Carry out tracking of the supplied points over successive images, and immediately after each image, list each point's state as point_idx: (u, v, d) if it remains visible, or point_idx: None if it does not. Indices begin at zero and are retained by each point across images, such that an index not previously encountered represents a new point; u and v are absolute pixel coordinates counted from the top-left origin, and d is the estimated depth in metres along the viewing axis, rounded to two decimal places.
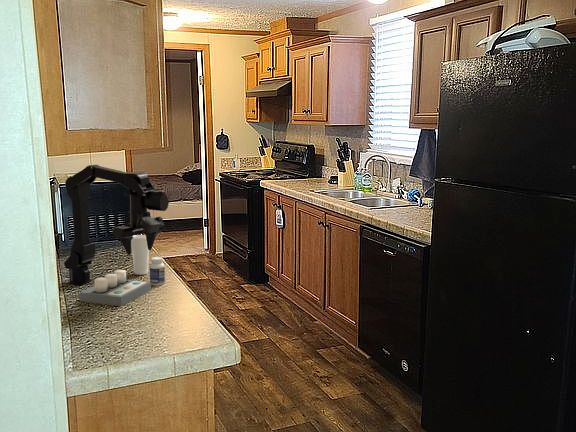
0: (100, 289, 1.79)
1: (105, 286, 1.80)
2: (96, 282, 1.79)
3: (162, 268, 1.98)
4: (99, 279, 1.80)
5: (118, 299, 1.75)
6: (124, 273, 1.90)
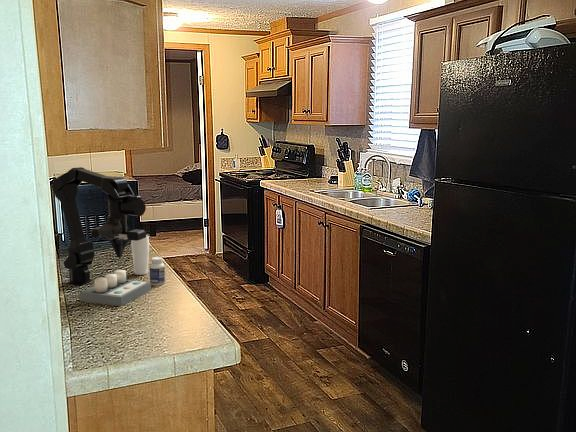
0: (100, 289, 1.79)
1: (105, 286, 1.80)
2: (96, 282, 1.79)
3: (162, 268, 1.98)
4: (99, 279, 1.80)
5: (118, 299, 1.75)
6: (124, 273, 1.90)
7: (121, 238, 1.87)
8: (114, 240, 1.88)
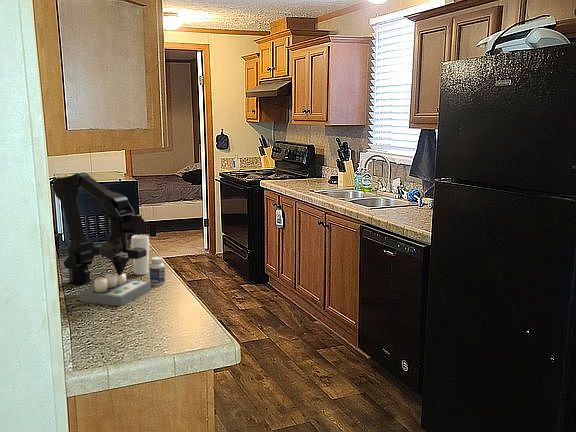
0: (100, 289, 1.79)
1: (105, 286, 1.80)
2: (96, 282, 1.79)
3: (162, 268, 1.98)
4: (99, 279, 1.80)
5: (118, 299, 1.75)
6: (124, 277, 1.90)
7: (122, 256, 1.88)
8: (115, 258, 1.89)
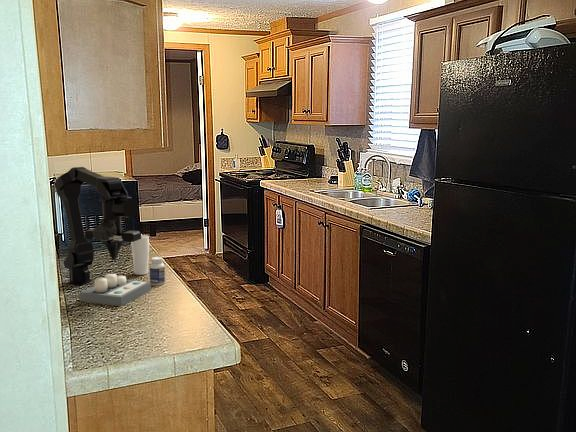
0: (100, 289, 1.79)
1: (105, 286, 1.80)
2: (96, 282, 1.79)
3: (162, 268, 1.98)
4: (99, 279, 1.80)
5: (118, 299, 1.75)
6: (124, 279, 1.90)
7: (116, 240, 1.83)
8: (108, 242, 1.84)
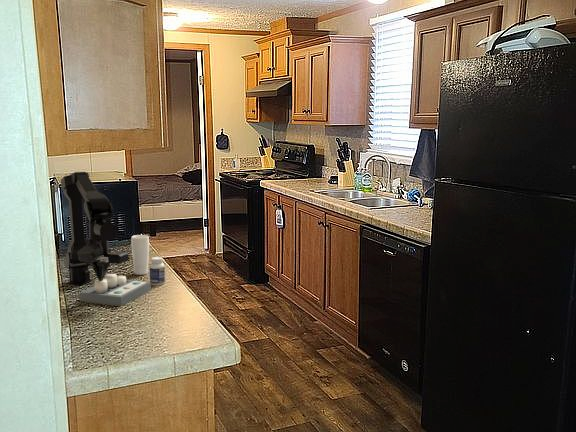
0: (100, 290, 1.79)
1: (105, 287, 1.80)
2: (96, 283, 1.79)
3: (162, 268, 1.98)
4: None
5: (118, 299, 1.75)
6: (124, 279, 1.90)
7: (102, 261, 1.77)
8: (95, 263, 1.78)
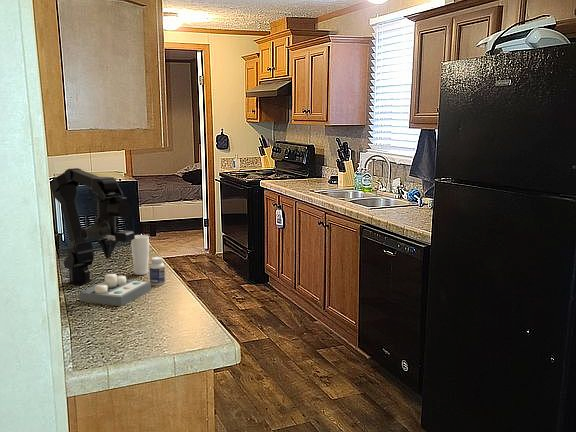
0: None
1: (105, 292, 1.80)
2: (96, 289, 1.79)
3: (162, 268, 1.98)
4: (99, 286, 1.81)
5: (118, 299, 1.75)
6: (124, 279, 1.90)
7: (109, 239, 1.85)
8: (103, 241, 1.86)
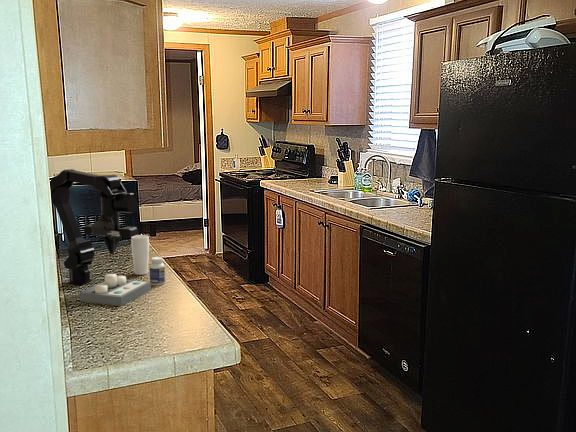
0: None
1: (105, 292, 1.80)
2: (96, 289, 1.79)
3: (162, 268, 1.98)
4: (99, 286, 1.81)
5: (118, 299, 1.75)
6: (124, 279, 1.90)
7: (114, 235, 1.89)
8: (107, 237, 1.90)
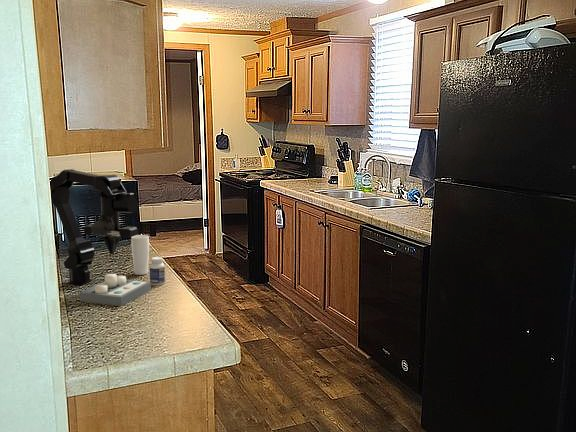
0: None
1: (105, 292, 1.80)
2: (96, 289, 1.79)
3: (162, 268, 1.98)
4: (99, 286, 1.81)
5: (118, 299, 1.75)
6: (124, 279, 1.90)
7: (114, 235, 1.89)
8: (107, 237, 1.90)
